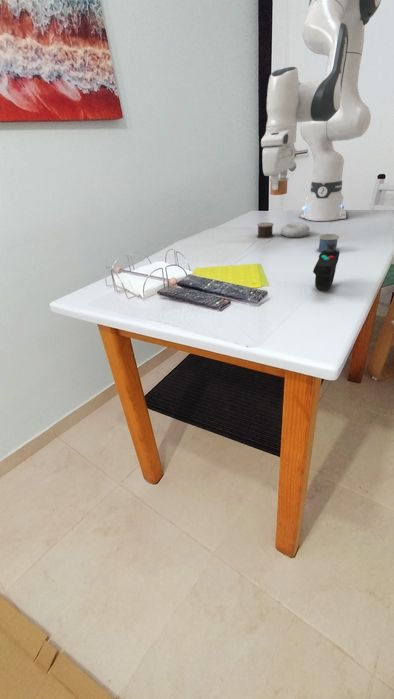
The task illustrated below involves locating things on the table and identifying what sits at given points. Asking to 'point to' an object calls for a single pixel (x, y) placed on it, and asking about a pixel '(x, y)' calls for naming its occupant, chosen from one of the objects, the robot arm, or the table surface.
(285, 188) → the cylinder
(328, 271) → the controller
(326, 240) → the pod top
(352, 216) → the table surface
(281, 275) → the table surface
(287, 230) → the donut
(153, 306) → the table surface
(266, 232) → the base
